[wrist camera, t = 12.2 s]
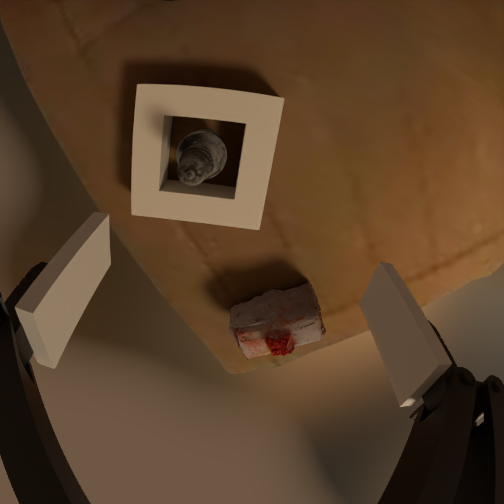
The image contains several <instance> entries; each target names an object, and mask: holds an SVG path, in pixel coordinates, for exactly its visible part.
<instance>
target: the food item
mask: <svg viewBox="0 0 504 504" xmlns="http://www.w3.org/2000/svg"><path fill="white" fill-rule="evenodd" d="M319 307H320V306H319V304H318V299H317V297H316V295H315V293H314V289H313V288H312V285H311V284H310V282H308V283H306V284H303V285H301V286H299V287H297V288H295V287H294V288H291V289H288V290H284V291H281V290H277V289H271V290H269V291H267V292H265V293H264V294H263V295H262V296H256V297H254V298H253V299H252V300H250V301H248V302H245V303H242V302H240V303H239V304H238V305H234V306H233V307H232V308H231V309H230V310H231V311H232V312H231V316H230V325H229V330H230V332H231V334H232V336H233V339H234V341H235V343H236V345H237V346H238V347H239V348H240V349H241V351H242V353H243V354H244V356H245V357H246V358H247V359H251V358H253V357H258V356H263V355H266V354H269V353H271V354H272V355H273V356H275V355H276V356H277V355H280V354H281V355H283V356H285V354H286V355H287V354H290V353H291V352H292V351H293V350H294V346H299V345H303V344H307V343H312V342H314V341H319V340H321V339H322V338H323V337H324V334H325V332H326V330H325V328H324V325H323V322H322V318H321V313H320V312H319V311H321V309H320V308H319Z"/></svg>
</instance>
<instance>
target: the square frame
mask: <svg viewBox="0 0 504 504" xmlns="http://www.w3.org/2000/svg"><path fill="white" fill-rule="evenodd" d="M283 103H284V98H282V97H277V96H272V95H266V94H260V93H253V92H246V91H239V90H231V89H223V88H213V87H203V86H190V85H173V84H137V92H136V102H135V114H134V128H133V146H132V182H131V202H132V215H139V216H148V217H157V218H165V219H174V220H183V221H191V222H199V223H207V224H215V225H223V226H231V227H239V228H247V229H254V230H259V229H260V223H261V218H262V213H263V208H264V203H265V197H266V192H267V187H268V182H269V177H270V171H271V166H272V161H273V156H274V151H275V145H276V140H277V135H278V130H279V124H280V119H281V114H282V109H283ZM173 116H182V117H194V118H204V119H214V120H222V121H231V122H238V123H245V129H244V135H243V142H242V148H241V154H240V161H239V167H238V174H237V180H236V187H231V186H223V185H215V184H207V183H200V184H198V185H195V186H190V185H186V184H184V183H183V182H181V181H180V180H170V179H168V165H169V152H170V140H171V129H172V119H173Z"/></svg>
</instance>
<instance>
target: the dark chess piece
mask: <svg viewBox="0 0 504 504" xmlns="http://www.w3.org/2000/svg"><path fill="white" fill-rule="evenodd" d="M176 159H177V162H178V168H177V175H178V178H179V179H180V181H181V182H183V183H184V184H186V185H190V186H195V185H198V184H200V183H202V182H203V181H204V180H205V179H209V178H212V177H214V176H216V175H217V174H218V173H219V172H220V171H222V169H223V167H224V166H225V163H226V160H227V150H226V144H225V141H224V139H223V138H222V136H221V135H220V134H219V133H217V132H215V131H214V130H210V129H201V130H197V131H195V132H192V133H190V134H188V135H186V136H185V137H184V138H183V139H182V140H181V141H180V143H179V145H178V147H177V152H176Z"/></svg>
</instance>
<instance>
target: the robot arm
mask: <svg viewBox="0 0 504 504" xmlns="http://www.w3.org/2000/svg"><path fill="white" fill-rule="evenodd" d="M166 1H172V0H166ZM109 240H110V239H109V214H104V213H98V212H94V213H93V214H92V215H91V216H90V217H89V218H88V219H87V220H86V221H85V223H84V224H83V225H82V226H81V227H80V228H79V229H78V230H77V231H76V232H75V233H74V234H73V236H72V237H71V238H70V239H69V240H68V241H67V242H66V243H65V244H64V246H63V247H62V248H61V249H60V250H59V251H58V252H57V254H56V255H55V256H54V257H53V258H52V260H51V261H50V262H49V263H45V262H41V263H39V264H37V265H36V266H34V267H33V268H31V270H30V271H29V272H28V273H27V274H26V276H25V278H23V279H22V281H21V282H20V284H19V285H18V286H17V287H16V288H15V289H14V291H13V292H12V293H11V295H10V296H9V297H8V298H7V300H6V301H5V302H4V301H3V298H2V295H1V293H0V455H1V458H2V461H3V464H4V467H5V470H6V472H7V475H8V478H9V480H10V482H11V485H12V488H13V490H14V492H15V495H16V497H17V499H18V502H19V504H91V503H90V502H89V500H88V499H87V497H86V495H85V494H84V492H83V490H82V489H81V486H80V485H79V483H78V481H77V479H76V477H75V475H74V474H73V471H72V470H71V468H70V466H69V464H68V462H67V460H66V457H65V455H64V453H63V451H62V449H61V447H60V445H59V442H58V440H57V437H56V435H55V433H54V431H53V428H52V426H51V423H50V420H49V418H48V415H47V412H46V410H45V407H44V404H43V401H42V398H41V395H40V392H39V389H38V386H37V383H36V380H35V376H34V372H33V369H32V366H31V363H30V362H29V360H30V358H31V357H32V354H33V353H34V356H35V358H36V360H37V362H38V363H39V364H42V365H45V366H47V367H50V368H53V369H55V368H56V365H57V363H58V361H59V359H60V357H61V355H62V353H63V351H64V349H65V346H66V344H67V342H68V340H69V338H70V336H71V334H72V332H73V330H74V328H75V326H76V325H77V323H78V320H79V319H80V317H81V315H82V313H83V312H84V310H85V308H86V306H87V304H88V302H89V301H90V299H91V297H92V295H93V294H94V292H95V290H96V288H97V287H98V285H99V283H100V281H101V280H102V278H103V276H104V274H105V273H106V271H107V270H108V268H109V266H110V265H111V260H110V241H109ZM359 305H360V307H361V309H362V311H363V314H364V316H365V318H366V321H367V323H368V325H369V328H370V330H371V333H372V335H373V338H374V340H375V342H376V345H377V347H378V350H379V352H380V355H381V357H382V360H383V362H384V365H385V368H386V370H387V373H388V375H389V378H390V380H391V384H392V386H393V389H394V392H395V394H396V397H397V400H398V403H399V406H400V407H402V406H410V405H414V404H415V403H416V402H417V401H418V400H419V399H420V398H421V397H422V398H423V400H424V403H423V404H422V405H421V406H420V407H419V408H418V409H416V410H415V411H414V413H413V414H411V416H410V417H409V418H412V417H413V416H414V415H416V414H417V416H416V418H415V419H414V421H415V422H414V424H413V427H412V430H411V432H410V435H409V438H408V440H407V443H406V445H405V448H404V450H403V452H402V455H401V457H400V459H399V462H398V464H397V466H396V468H395V470H394V473H393V475H392V477H391V479H390V481H389V483H388V485H387V487H386V489H385V491H384V493H383V495H382V496H381V498H380V500H379V502H378V504H504V385H503V383H502V381H501V380H500V379H499V378H498V377H496V376H493V375H491V376H489V377H488V378H487V379H486V380H485V381H484V382H479V381H476V380H475V377H474V376H473V374H472V373H471V372H470V371H469V370H468V369H466V368H463V367H457V365H456V363H455V361H454V359H453V357H452V355H451V354H450V352H449V350H448V348H447V346H446V345H444V341H443V340H442V338H440V337H441V336H440V334H439V332H438V331H437V329H436V328H435V327H434V326H433V325H432V323H430V321H429V320H427V318H426V317H425V315H424V313H423V312H422V310H421V308H420V307H419V305H418V303H417V302H416V300H415V299H414V297H413V295H412V294H411V292H410V291H409V289H408V288H407V286H406V285H405V283H404V282H403V280H402V278H401V277H400V275H399V274H398V272H397V271H396V269H395V268H394V267H393V265H392V264H389V263H383V262H380V263H379V265H378V267H377V269H376V271H375V273H374V275H373V277H372V279H371V281H370V283H369V285H368V287H367V289H366V291H365V293H364V295H363V297H362V299H361V301H360V303H359ZM482 416H484V422H482V423H481V424H480V425H479V426H477V423H476V422H477V421H478V420H479V419H480V418H481V417H482Z"/></svg>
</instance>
